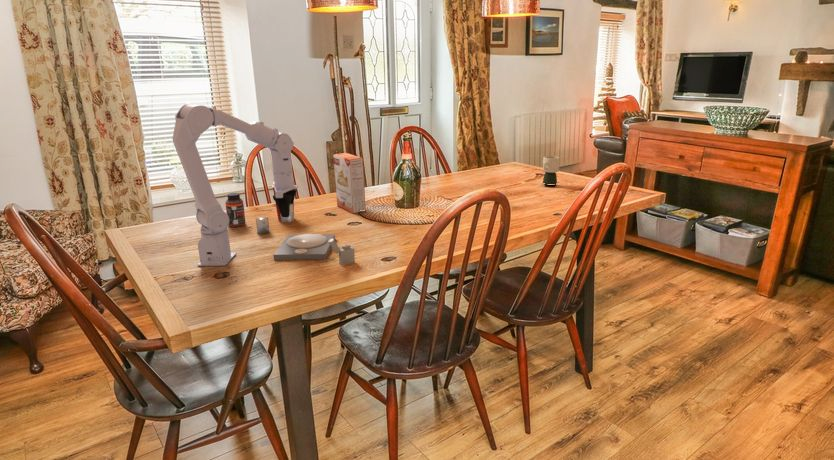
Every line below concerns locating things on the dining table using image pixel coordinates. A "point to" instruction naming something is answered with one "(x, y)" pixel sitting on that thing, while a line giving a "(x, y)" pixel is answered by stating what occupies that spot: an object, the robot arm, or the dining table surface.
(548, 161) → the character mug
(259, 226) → the spacer
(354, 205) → the cracker box
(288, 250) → the kitchen scale
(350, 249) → the lighter
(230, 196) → the supplement bottle
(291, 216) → the cylinder
